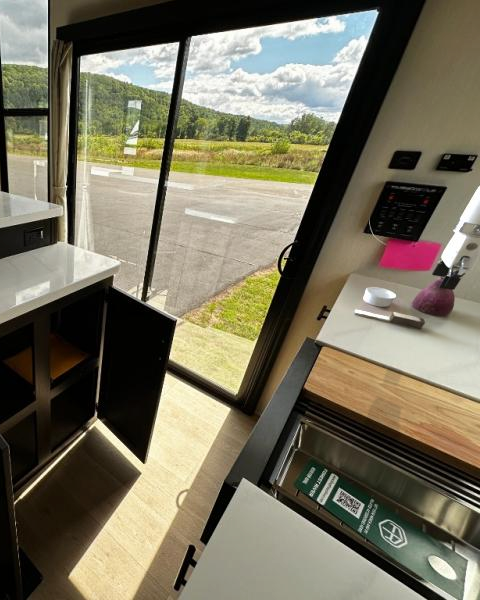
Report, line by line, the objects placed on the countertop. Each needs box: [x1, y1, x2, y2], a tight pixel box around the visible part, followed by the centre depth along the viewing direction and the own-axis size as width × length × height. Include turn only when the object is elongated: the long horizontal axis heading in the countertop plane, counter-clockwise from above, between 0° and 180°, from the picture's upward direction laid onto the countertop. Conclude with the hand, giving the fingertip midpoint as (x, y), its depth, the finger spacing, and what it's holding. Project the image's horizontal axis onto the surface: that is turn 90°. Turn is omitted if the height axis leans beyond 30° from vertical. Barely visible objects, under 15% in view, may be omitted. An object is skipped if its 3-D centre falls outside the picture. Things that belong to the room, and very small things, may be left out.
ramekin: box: [363, 286, 397, 308], centre depth 122 cm, size 9×9×4 cm
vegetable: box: [411, 276, 456, 317], centre depth 114 cm, size 10×10×15 cm
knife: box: [353, 309, 426, 331], centre depth 112 cm, size 18×3×3 cm, turn 56°
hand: (442, 281), depth 98 cm, fingers open, 9 cm apart
